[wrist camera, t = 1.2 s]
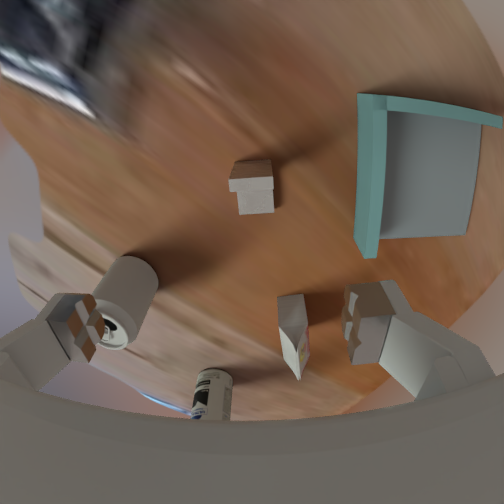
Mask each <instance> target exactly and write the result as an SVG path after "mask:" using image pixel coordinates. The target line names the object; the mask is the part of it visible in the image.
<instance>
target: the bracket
mask: <svg viewBox="0 0 504 504" xmlns="http://www.w3.org/2000/svg"><path fill="white" fill-rule="evenodd" d="M229 188H230V192H236V191H237V197H238V207H239V215H242V214H257V213H274V201H273V189H274V185H273V173H272V165H271V159H266V160H251V161H238V162H235V163H234V166H233V168H232V171H231V174H230V177H229Z"/></svg>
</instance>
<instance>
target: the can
mask: <svg viewBox="0 0 504 504" xmlns="http://www.w3.org/2000/svg"><path fill="white" fill-rule="evenodd" d="M157 289H158V278H157V275H156V273H155V271H154V270H153V269H152V267H151V266H150V265H149V264H147V263H146V262H145V261H143V260H141V259H139V258H137V257H132V256H123V257H120V258H118V259H116V261H115V262H114V263H113V264H112V265H111V267H110V268H109V270H108V271H107V273H106V274H105V275H104V277H103V278H102V280H101V281H100V283H99V284H98V286H97V287H96V288H95V290H94V291H93V293H92V294H91V295H92V296H93V297H94V299H95V301H96V303H97V306H96V310H97V311H98V312H99V313H101V314H102V317H103V319H104V323H105V331H104V336H103V338H102V340H101V341H100V342H98V343H97V344H99V345H101V346H102V347H104V348H108V349H111V350H120V349H124V348H125V347H126V346H127V345H128V344H130V343H132V342H133V341H134V340H135V339H136V337H137V335H138V332H139V330H140V327H141V325H142V323H143V320H144V318H145V316H146V313H147V311H148V309H149V307H150V304H151V302H152V300H153V298H154V295H155V293H156V291H157Z"/></svg>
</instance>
